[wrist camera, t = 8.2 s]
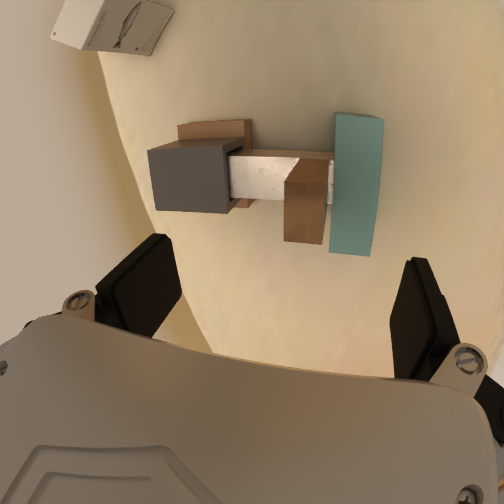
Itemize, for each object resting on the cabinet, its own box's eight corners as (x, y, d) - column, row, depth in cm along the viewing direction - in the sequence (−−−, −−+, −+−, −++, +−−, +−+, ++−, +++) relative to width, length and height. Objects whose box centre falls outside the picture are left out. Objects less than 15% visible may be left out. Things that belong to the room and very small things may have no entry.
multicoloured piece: (219, 149, 29) (156, 179, 19) (355, 154, 26) (367, 188, 16) (221, 185, 31) (164, 230, 21) (352, 193, 28) (359, 248, 18)
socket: (335, 112, 28) (335, 114, 20) (369, 115, 27) (383, 119, 19) (331, 213, 34) (328, 252, 25) (362, 216, 33) (369, 256, 24)
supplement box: (150, 57, 29) (79, 53, 19) (115, 42, 29) (46, 39, 18) (177, 10, 25) (111, -13, 15) (138, -1, 25) (72, -18, 14)
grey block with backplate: (188, 123, 33) (145, 132, 25) (251, 119, 31) (220, 125, 23) (195, 197, 38) (158, 226, 30) (254, 200, 35) (228, 231, 28)
